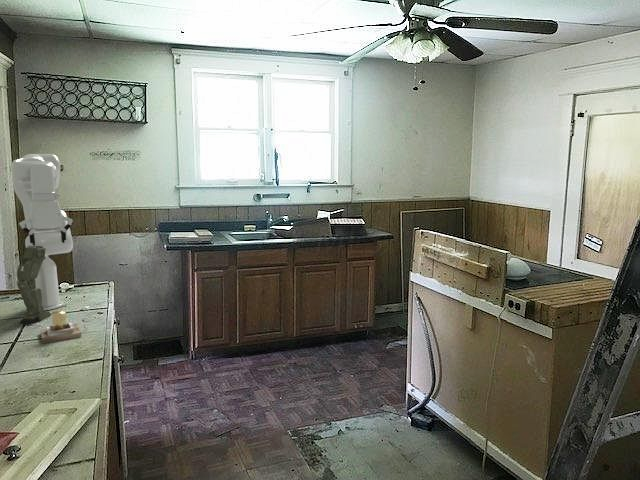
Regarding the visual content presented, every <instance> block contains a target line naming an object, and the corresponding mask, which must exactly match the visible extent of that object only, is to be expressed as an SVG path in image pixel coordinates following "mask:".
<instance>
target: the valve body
mask: <svg viewBox="0 0 640 480" xmlns="http://www.w3.org/2000/svg"><path fill="white" fill-rule="evenodd" d="M51 317H52V319H51V321H52V325H53V331H57V330H63V329H67V323H68V322H67V313H66V310H62V309H61V310H56V311H52V312H51Z"/></svg>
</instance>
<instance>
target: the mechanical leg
mask: <svg viewBox="0 0 640 480" xmlns="http://www.w3.org/2000/svg"><path fill="white" fill-rule="evenodd" d="M45 250H46V248H43V246H28V247H27V248H26V247H25V252H24V255H23V257H22V258H23V260H22V263H21V264H18V265H17V266H18V267H17V270H16V276H17V281H16V285H17V287H18V290H19V293H20V295H21V298H22V302H23V303H24V305H25V307H26V309H25V310H26V311H25V313H24V317H22V318H21V319H20V320H19V324H20V325H33V324H36V323H38V322H41V321H43V320H44V319H46V318H49V317H50V316H51V311H48V310H44V308H43V306H42V293H41V289H39V288H38V289H36V281H35V278H37V276H38V273H39V270H40V267H41V264H42V262H43V260H44V259H45V258H46V257H45Z"/></svg>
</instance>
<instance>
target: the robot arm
mask: <svg viewBox="0 0 640 480" xmlns="http://www.w3.org/2000/svg"><path fill="white" fill-rule="evenodd" d="M10 166H11V167H10V168H11V174H12V178H11V180H12V181H11V183H12V187H13V190H14V192H15V194H16V196H17V198H18V201H20V203H21V205H22V208H23V215H24V220H22V221H21V222H19V223H18V225H19V226H20V228H21V229H22V230H23V232H25V233H26V234H27V236H26V238H25V241H24V244H25V249H26V248H27V247H28V246H43V248H46V250H45V257H46V258H45V259H44V260H43V262H42V264H41V267H40V270H39V273H38V276H37V278H35V281H36V289H38V288H39V289H41V293H42V306H43V308H44V310H46V311H51V310H55V309H59V308H61V307H63V306H64V305H65V302H64V300H63V299H60V293H59V292H60V291H59V281H58V272H57V271H58V270H57V265H56V263H55V261H54V260H53V259H52V258H50V256H51V255H60V254H68V253H71V252H72V250H73V248H74V241H73V236H72V232H71V225H72V223H73V222H74V220H73V219H72V218H70V217H68V215H67V213H66V212H65V211H64V210H62V209H61V206H60V202H59V200H58V199H57V198H61V193H57V192H56V189H58V188H59V186H60V178H61V177H60V176H61V162H60V160H59V158H58V156H57V155H56V154H53V153H30V154H29V153H28V154H25V155H24V156H22V157H21V158H18V159H14V160H13V161H12V163H11V165H10Z"/></svg>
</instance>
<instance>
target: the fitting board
mask: <svg viewBox="0 0 640 480" xmlns="http://www.w3.org/2000/svg"><path fill="white" fill-rule="evenodd" d="M39 331H40V336H41V340H42V344H48V343H53V342H58V341H64V340H70V339H75V338H81V337H82V332H81V330H80V328H79V326H78V324H77V323H75V324H73V323H72V322H67V329H63V330H57V331H53V324H52V325H51V324H50V325H47V326H46V328H44V329H40V330H39Z"/></svg>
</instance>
